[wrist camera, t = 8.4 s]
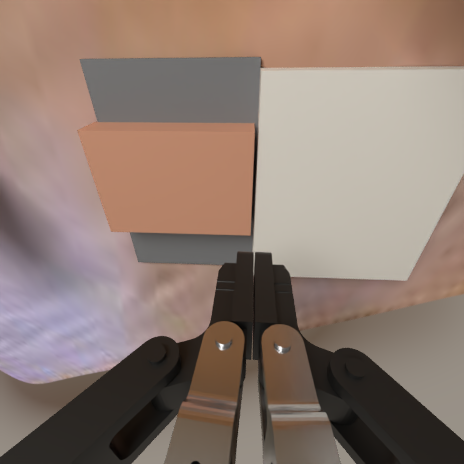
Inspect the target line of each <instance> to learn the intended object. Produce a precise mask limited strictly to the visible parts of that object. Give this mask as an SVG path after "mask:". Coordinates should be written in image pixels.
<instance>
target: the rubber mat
mask: <svg viewBox="0 0 464 464" xmlns="http://www.w3.org/2000/svg"><path fill="white" fill-rule="evenodd" d="M80 62H81V66H82V69H83V73H84V76H85V80H86V83H87V86H88V90H89V93H90V97H91V100H92V104H93V107H94V111H95V114H96V118H97V121H98V122H156V123H254V125H255V140H254V164H253V188H252V211H251V235H250V236H248V235H213V234H177V233H142V232H130V235H131V238H132V242H133V245H134V248H135V252H136V255H137V259H138V262H152V263H184V264H216V265H224V263H236V260H237V251H241V252H252V248H253V225H254V203H255V180H256V157H257V135H258V112H259V89H260V67H261V57H221V58H129V59H80Z"/></svg>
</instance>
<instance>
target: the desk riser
mask: <svg viewBox="0 0 464 464" xmlns="http://www.w3.org/2000/svg"><path fill="white" fill-rule="evenodd" d="M463 174H464V66H424V67H308V68H260V89H259V112H258V135H257V157H256V180H255V203H254V225H253V248H252V252H254V262H255V252H271V253H272V263H273V264H275V265H284V266H285V268H286V269H287V270H288V272H289V273H290V277H313V278H343V279H373V280H403V281H407V279H408V278H409V276H410V274H411V272H412V270H413V268H414V266H415V264H416V262H417V261H418V259H419V257H420V255H421V253H422V251H423V249H424V247H425V245H426V244H427V242H428V240H429V238H430V236H431V234H432V232H433V230H434V229H435V227H436V225H437V223H438V221H439V219H440V217H441V215H442V213H443V212H444V210H445V208H446V206H447V204H448V202H449V200H450V198H451V196H452V195H453V193H454V191H455V189H456V187H457V185H458V183H459V181H460V179H461V178H462V176H463ZM253 276H254V270H253Z"/></svg>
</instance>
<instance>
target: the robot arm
mask: <svg viewBox="0 0 464 464" xmlns="http://www.w3.org/2000/svg"><path fill="white" fill-rule="evenodd" d="M253 270H254V285H253ZM252 332H253V360H258V369H259V370H258V371H259V372H258V391H259V403H260V416H261V429H262V443H263V464H341V463H340V458H339V454H338V450H337V447H336V443H335V439H334V437H335V438H336V439H337V440H338V442H339V443H340V444H341V446H342V447H343V448H344V449H345V450H346V452H347V453H348V454H349V455H350V457H351V458H352V459H353V460H354V461H355V463H356V464H464V441H463V440H462V439H461V438H460V437H459V436H457V435H456V434H455V433H454V432H453V431H452V430H451V429H450V428H448V427H447V426H446V425H445V424H444V423H443V422H442V421H440V420H439V419H438V418H437V417H436V416H435V415H433V414H432V413H431V412H430V411H429V410H428V409H427V408H426V407H425V406H423V405H422V404H421V403H420V402H419V401H417V399H415V398H414V397H413V396H412V395H411V394H410V393H409V392H407V391H406V390H405V389H404V388H403V387H402V386H401V385H400V384H398V383H397V382H396V381H395V380H394V379H393V378H392V377H390V376H389V375H388V374H387V373H386V372H385V371H383V370H382V369H381V368H380V367H379V366H378V365H377V364H375V363H374V362H373V361H372V360H371V359H370V358H369V357H368V356H366V355H365V354H363V353H362V352H360V351H358V350H355V349H352V348H342V349H339V350H337V351H335V352H334V353H333V352H330V351H327V350H325V349H322V348H319V347H317V346H315V345H313V344H311V343H310V342H308V341H307V340H306V339H305V338H304V337H303V336H302V334H301V333H300V331H299V329H298V325H297V319H296V312H295V305H294V299H293V294H292V286H291V279H290V273H289V272H288V270H287V269H286V268H285V266H284V265H275V264H273V263H272V253H271V252H255V262H254V252H241V251H237V260H236V263H224V265H223V266H222V267H221V269H220V270H219V273H218V279H217V285H216V292H215V298H214V304H213V310H212V316H211V321H210V324H209V327H208V328H207V330H206V331H205V332H204V333H203V334H201V335H200V336H198V337H196V338H194V339H191V340H187V341H184V342H180V343H176V342H175V341H174V340H173V339H171V338H169V337H166V336H158V337H154V338H152V339H150V340H148V341H146V342H145V343H144V344H142V345H141V346H140V347H139V348H137V349H136V350H135V351H134V352H132V353H131V354H130V355H129V356H127V357H126V358H125V359H124V360H122V361H121V362H120V363H119V364H117V365H116V366H115V367H113V368H112V369H111V370H110V371H108V372H107V373H106V374H105V375H103V376H102V377H101V378H100V379H98V380H97V381H96V382H95V383H93V384H92V385H91V386H90V387H88V388H87V389H86V390H84V391H83V392H82V393H81V394H80V395H78V396H77V397H76V398H74V399H73V400H72V401H71V402H69V403H68V404H67V405H66V406H64V407H63V408H62V409H61V410H59V411H58V412H57V413H56V414H54V415H53V416H52V417H50V418H49V419H48V420H47V421H45V422H44V423H43V424H42V425H40V426H39V427H38V428H37V429H35V430H34V431H33V432H31V433H30V434H29V435H28V436H26V437H25V438H24V439H23V440H21V441H20V442H19V443H18V444H16V445H15V446H14V447H13V448H11V449H10V450H9V451H8V452H6V453H5V454H4V455H3V456H1V457H0V464H131V463H132V462H133V461H134V460H135V459H136V458H137V457H138V456H139V455H140V454H141V453H142V452H143V451H144V450H145V448H146V447H147V446H148V445H149V444H150V443H151V442H152V441H153V440H154V439H155V438H156V437H157V435H159V433H160V432H161V431H162V430H163V429H164V428H165V427H166V426H167V425H168V424H169V423H170V422H171V421H172V420H173V419H174V417H175V416H176V415H177V414H178V415H177V419H176V422H175V426H174V430H173V433H172V437H171V440H170V444H169V448H168V451H167V455H166V459H165V462H164V464H235V461H236V448H237V437H238V428H239V419H240V409H241V400H242V391H243V381H244V379H245V373H246V359H249V360H251V349H252Z"/></svg>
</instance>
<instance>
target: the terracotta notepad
mask: <svg viewBox="0 0 464 464" xmlns="http://www.w3.org/2000/svg"><path fill="white" fill-rule="evenodd" d="M77 131H78V134H79V137H80V140H81V143H82V146H83V149H84V152H85V155H86V158H87V161H88V164H89V167H90V170H91V173H92V176H93V179H94V182H95V185H96V188H97V191H98V194H99V197H100V200H101V203H102V206H103V209H104V212H105V215H106V218H107V221H108V224H109V226H110V229H111V232H142V233H177V234H213V235H248V236H250V235H251V211H252V188H253V164H254V140H255V125H254V123H156V122H94V123H92V124H90V125H88V126H86V127H83V128H81V129H79V130H77Z"/></svg>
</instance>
